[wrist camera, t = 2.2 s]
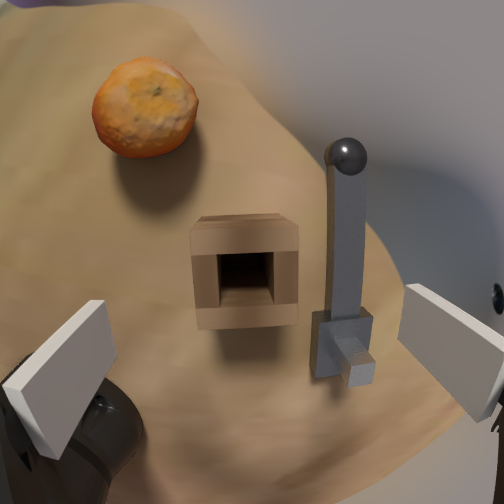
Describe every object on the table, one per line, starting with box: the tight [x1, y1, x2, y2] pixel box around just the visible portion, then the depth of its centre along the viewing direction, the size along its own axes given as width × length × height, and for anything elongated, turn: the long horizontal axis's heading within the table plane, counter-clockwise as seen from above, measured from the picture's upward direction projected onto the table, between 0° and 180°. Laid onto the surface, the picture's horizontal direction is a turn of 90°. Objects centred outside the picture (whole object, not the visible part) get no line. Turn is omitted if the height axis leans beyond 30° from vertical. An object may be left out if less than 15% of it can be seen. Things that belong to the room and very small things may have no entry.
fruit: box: [92, 57, 199, 158], centre depth 21 cm, size 8×8×8 cm
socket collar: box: [189, 214, 298, 330], centre depth 22 cm, size 6×6×8 cm
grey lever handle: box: [309, 138, 376, 388], centre depth 24 cm, size 5×22×7 cm, turn 2°
